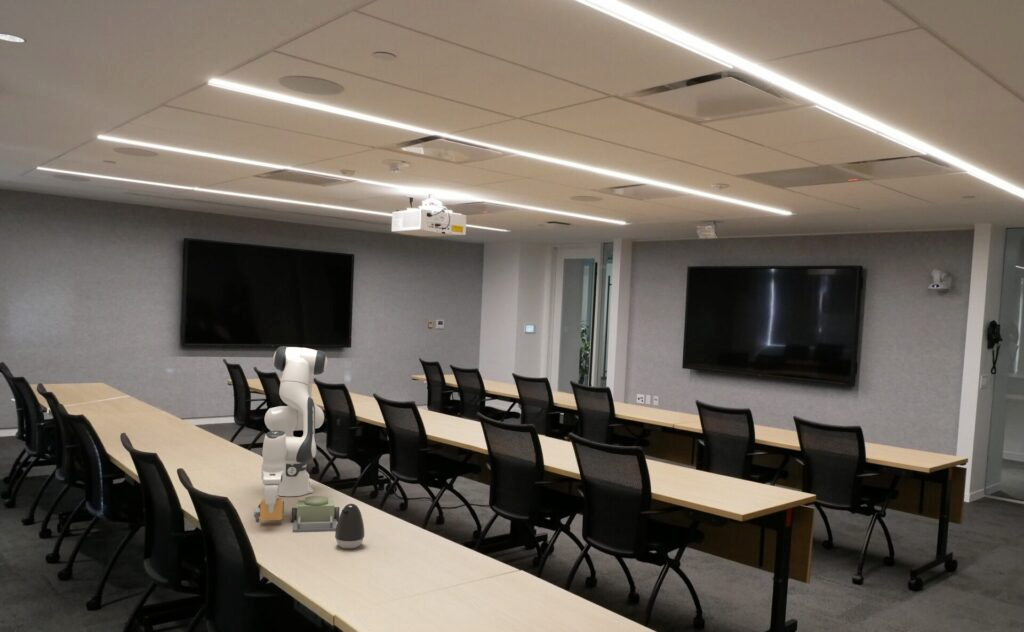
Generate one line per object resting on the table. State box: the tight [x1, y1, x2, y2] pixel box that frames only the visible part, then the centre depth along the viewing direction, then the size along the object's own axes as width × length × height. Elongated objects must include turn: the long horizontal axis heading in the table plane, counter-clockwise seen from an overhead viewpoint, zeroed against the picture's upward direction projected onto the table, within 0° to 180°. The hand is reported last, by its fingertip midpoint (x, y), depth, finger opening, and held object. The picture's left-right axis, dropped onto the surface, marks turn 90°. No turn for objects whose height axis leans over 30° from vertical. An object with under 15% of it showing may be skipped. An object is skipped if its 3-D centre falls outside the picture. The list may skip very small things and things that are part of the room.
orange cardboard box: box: [259, 497, 285, 521], centre depth 277 cm, size 4×8×7 cm, turn 104°
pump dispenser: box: [334, 503, 366, 550], centre depth 255 cm, size 10×10×15 cm
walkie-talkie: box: [253, 502, 261, 521], centre depth 289 cm, size 9×4×20 cm
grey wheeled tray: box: [290, 495, 340, 533], centre depth 279 cm, size 19×18×9 cm
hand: (271, 509), depth 277 cm, fingers closed on orange cardboard box, 4 cm apart
